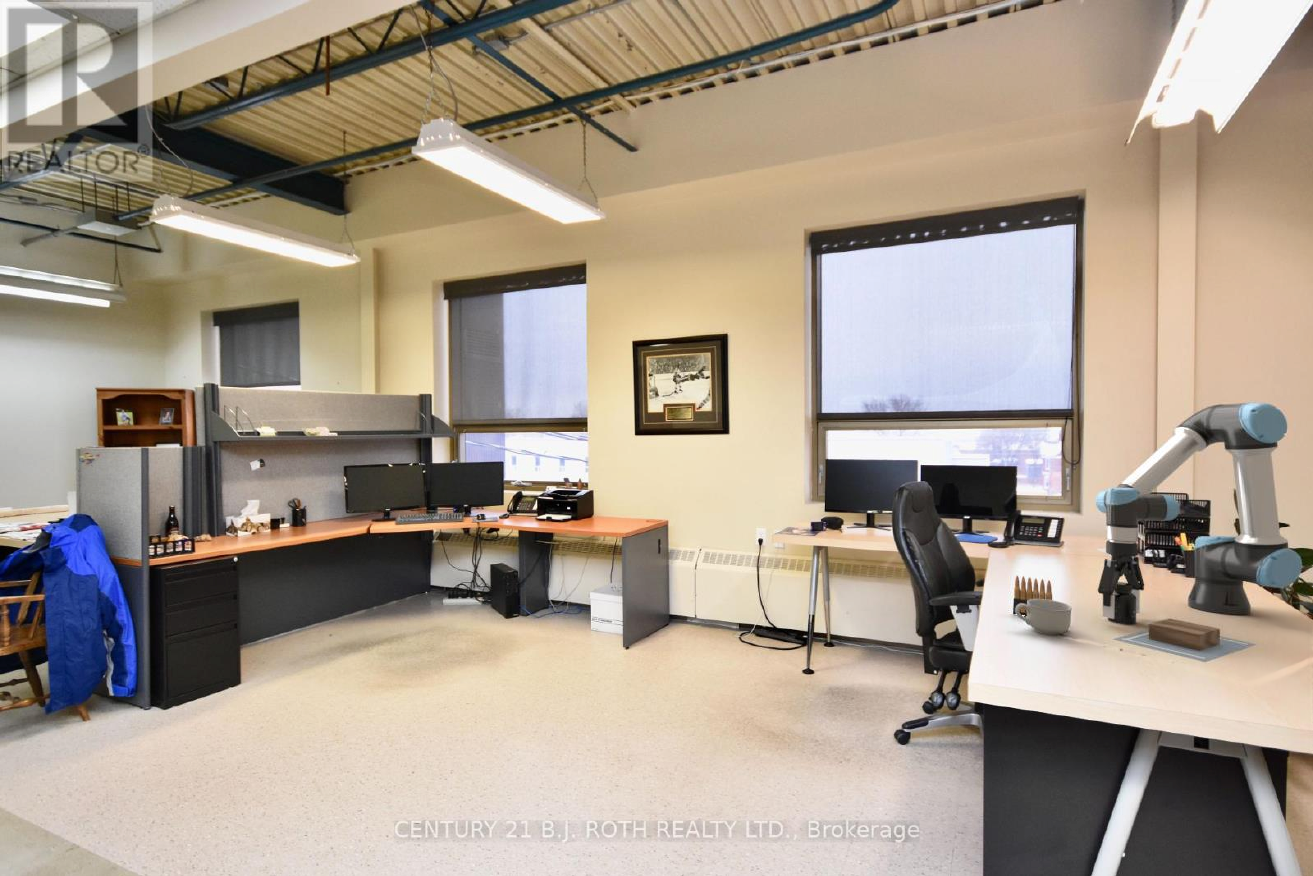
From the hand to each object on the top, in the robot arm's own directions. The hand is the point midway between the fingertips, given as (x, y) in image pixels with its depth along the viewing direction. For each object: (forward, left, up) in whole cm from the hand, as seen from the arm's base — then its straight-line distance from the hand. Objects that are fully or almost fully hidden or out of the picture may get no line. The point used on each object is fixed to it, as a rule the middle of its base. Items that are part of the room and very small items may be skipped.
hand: (1121, 614), depth 190 cm
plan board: (+7, +18, -3) cm, 20 cm away
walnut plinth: (+7, +18, -2) cm, 19 cm away
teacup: (+27, -7, -3) cm, 28 cm away
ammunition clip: (+15, -17, -3) cm, 23 cm away
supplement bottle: (0, 0, -3) cm, 3 cm away
